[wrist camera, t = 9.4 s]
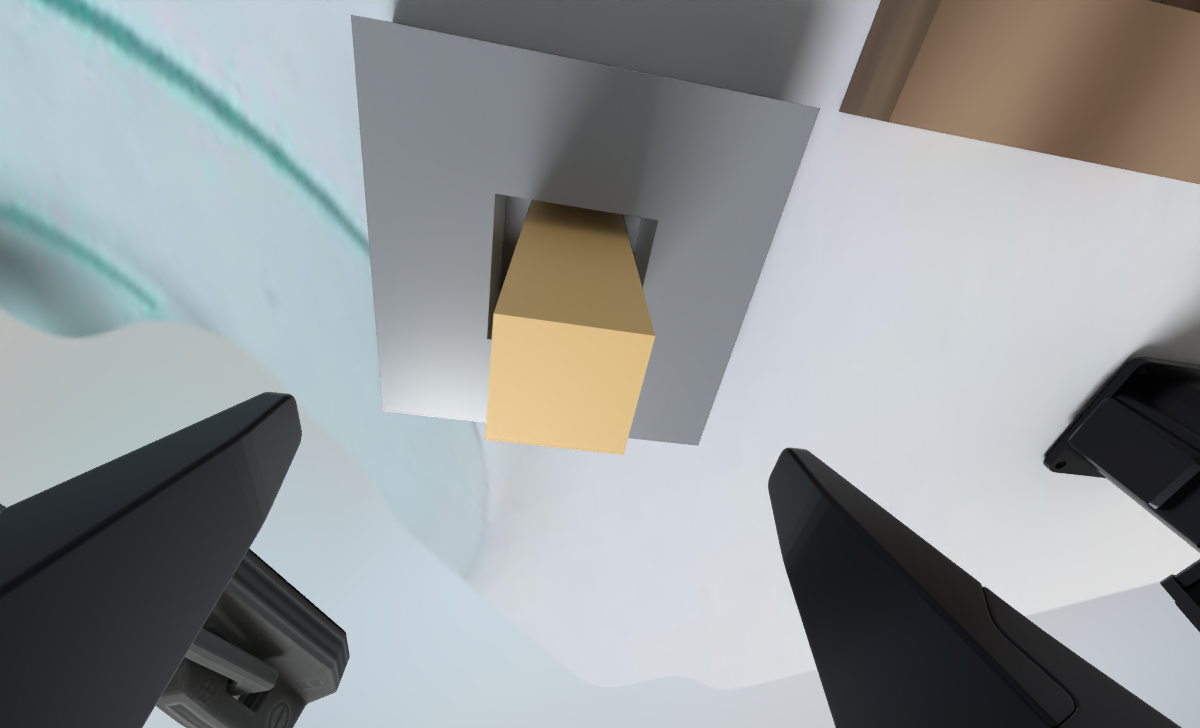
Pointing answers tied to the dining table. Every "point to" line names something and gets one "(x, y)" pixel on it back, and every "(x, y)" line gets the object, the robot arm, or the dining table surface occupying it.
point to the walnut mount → (1042, 77)
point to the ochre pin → (569, 334)
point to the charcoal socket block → (562, 176)
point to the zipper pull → (256, 656)
